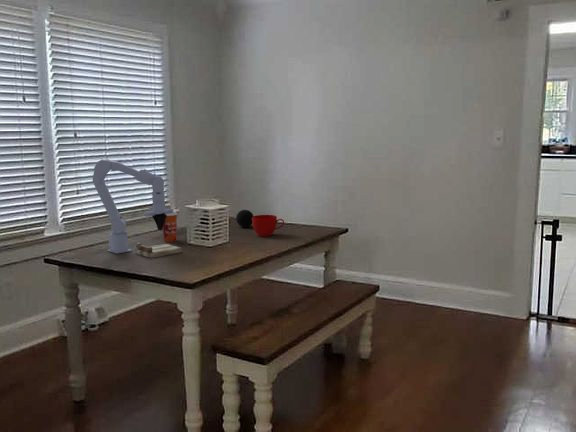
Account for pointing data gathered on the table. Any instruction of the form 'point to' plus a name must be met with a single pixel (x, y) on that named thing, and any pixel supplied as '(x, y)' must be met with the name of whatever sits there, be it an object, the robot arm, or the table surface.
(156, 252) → the cream flat block
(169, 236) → the coffee cup
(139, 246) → the folding leg
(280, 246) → the table surface
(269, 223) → the ceramic cup
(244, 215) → the decorative ball
